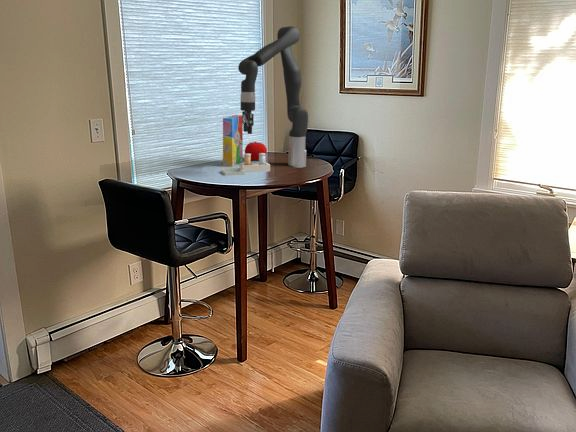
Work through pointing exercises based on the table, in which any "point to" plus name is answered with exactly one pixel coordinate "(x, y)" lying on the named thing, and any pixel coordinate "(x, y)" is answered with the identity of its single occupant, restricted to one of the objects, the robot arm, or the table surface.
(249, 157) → the fuse
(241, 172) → the parts tray
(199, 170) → the table surface
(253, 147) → the tomato
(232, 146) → the game box
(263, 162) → the cylinder
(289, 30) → the robot arm
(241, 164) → the fuse block
